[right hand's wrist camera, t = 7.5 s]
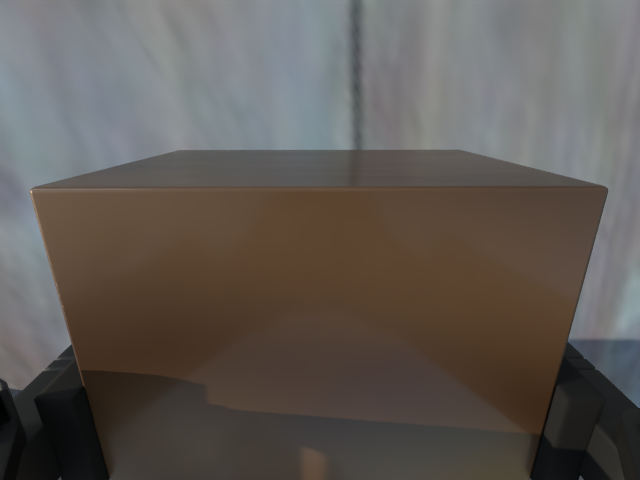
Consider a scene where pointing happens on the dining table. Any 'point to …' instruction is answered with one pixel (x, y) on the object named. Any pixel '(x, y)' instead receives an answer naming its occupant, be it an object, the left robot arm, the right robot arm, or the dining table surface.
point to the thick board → (319, 310)
